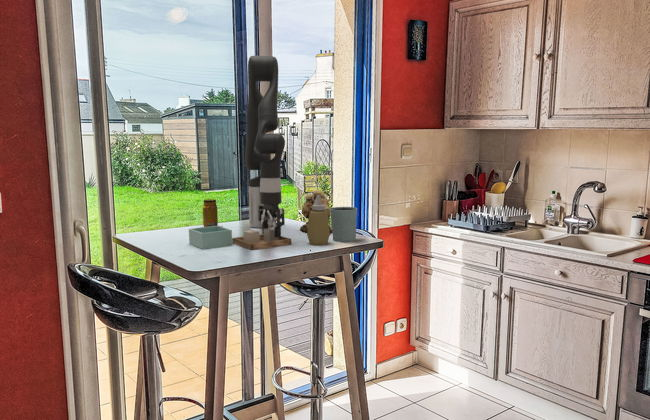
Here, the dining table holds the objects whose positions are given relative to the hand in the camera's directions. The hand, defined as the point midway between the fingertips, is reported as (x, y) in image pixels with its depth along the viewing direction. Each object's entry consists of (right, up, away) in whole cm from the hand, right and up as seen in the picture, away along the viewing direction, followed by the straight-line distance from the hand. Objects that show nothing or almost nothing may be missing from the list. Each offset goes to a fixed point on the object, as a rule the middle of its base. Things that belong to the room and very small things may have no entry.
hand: (271, 235), depth 197 cm
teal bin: (-21, -4, -2) cm, 22 cm away
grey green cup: (+26, -2, +9) cm, 28 cm away
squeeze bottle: (+17, -4, 0) cm, 17 cm away
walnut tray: (-3, -4, -2) cm, 5 cm away
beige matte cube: (-7, -3, -4) cm, 8 cm away
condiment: (-28, +1, +36) cm, 45 cm away
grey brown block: (0, -3, +1) cm, 3 cm away
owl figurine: (+15, 0, +27) cm, 31 cm away
